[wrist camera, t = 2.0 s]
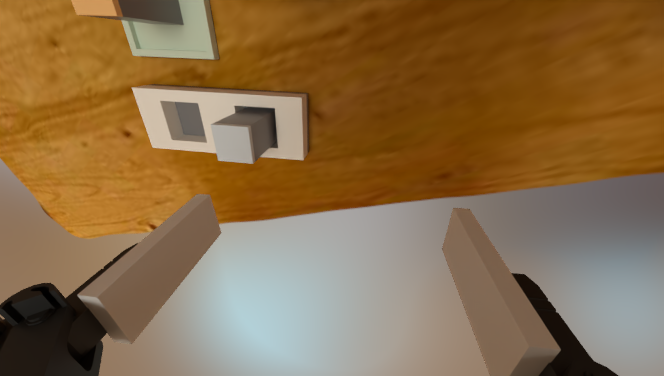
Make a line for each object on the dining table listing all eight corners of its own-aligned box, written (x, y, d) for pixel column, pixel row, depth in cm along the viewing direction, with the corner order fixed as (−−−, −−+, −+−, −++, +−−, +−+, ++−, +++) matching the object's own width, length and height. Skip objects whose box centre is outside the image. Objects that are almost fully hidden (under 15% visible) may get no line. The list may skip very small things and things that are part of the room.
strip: (152, 84, 34) (131, 87, 31) (308, 93, 32) (301, 97, 29) (169, 139, 38) (152, 147, 35) (308, 151, 36) (303, 160, 33)
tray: (105, -59, 27) (94, -63, 26) (199, -59, 26) (191, -64, 25) (140, 55, 32) (133, 55, 31) (219, 59, 31) (214, 59, 30)
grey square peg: (248, 106, 33) (210, 124, 25) (277, 108, 32) (247, 127, 24) (252, 135, 35) (218, 160, 27) (279, 137, 34) (253, 163, 26)
